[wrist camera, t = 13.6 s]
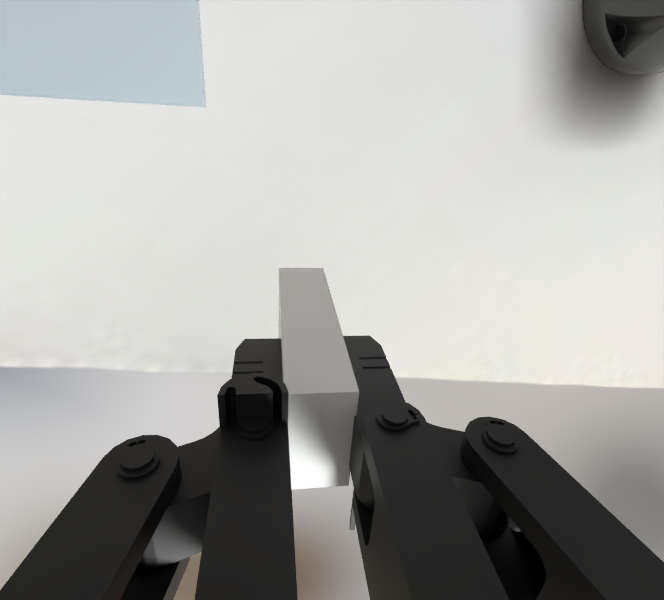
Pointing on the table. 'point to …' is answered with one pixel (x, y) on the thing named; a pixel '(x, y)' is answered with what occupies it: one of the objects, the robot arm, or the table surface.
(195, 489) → the robot arm
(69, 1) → the push board
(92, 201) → the table surface
